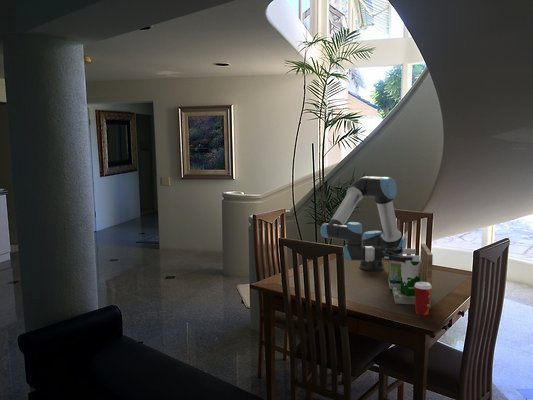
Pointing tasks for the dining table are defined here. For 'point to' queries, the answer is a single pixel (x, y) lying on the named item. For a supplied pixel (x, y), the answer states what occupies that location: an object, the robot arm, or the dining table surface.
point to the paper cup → (422, 297)
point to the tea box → (394, 274)
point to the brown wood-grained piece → (424, 277)
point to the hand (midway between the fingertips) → (417, 255)
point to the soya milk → (410, 276)
